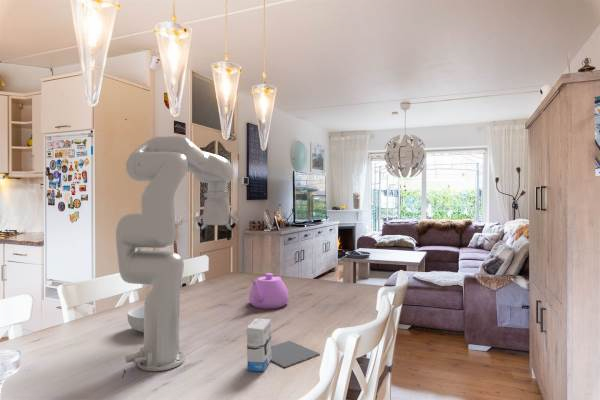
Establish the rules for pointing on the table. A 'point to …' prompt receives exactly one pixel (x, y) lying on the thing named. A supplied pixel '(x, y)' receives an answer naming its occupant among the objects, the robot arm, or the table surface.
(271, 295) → the teapot
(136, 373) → the table surface
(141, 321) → the cereal bowl
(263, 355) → the ink box
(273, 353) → the mat
